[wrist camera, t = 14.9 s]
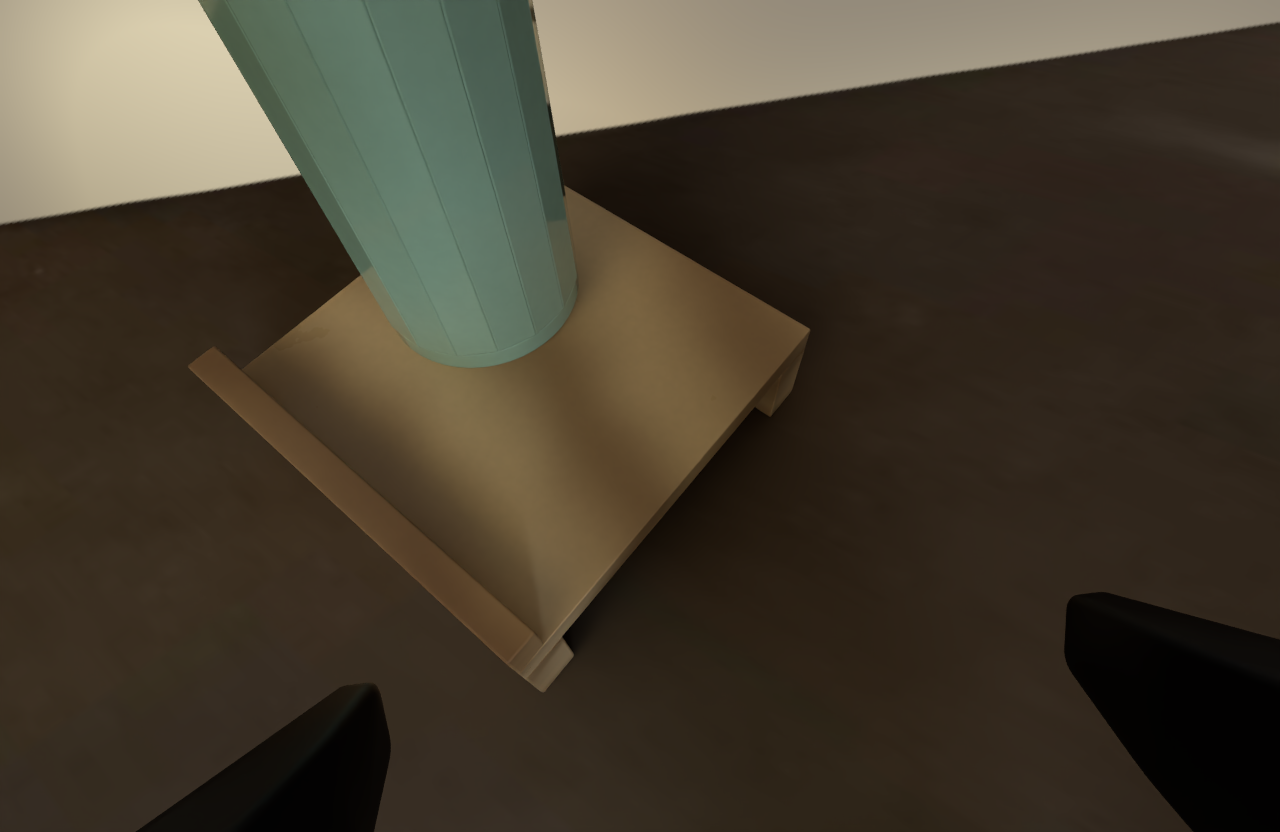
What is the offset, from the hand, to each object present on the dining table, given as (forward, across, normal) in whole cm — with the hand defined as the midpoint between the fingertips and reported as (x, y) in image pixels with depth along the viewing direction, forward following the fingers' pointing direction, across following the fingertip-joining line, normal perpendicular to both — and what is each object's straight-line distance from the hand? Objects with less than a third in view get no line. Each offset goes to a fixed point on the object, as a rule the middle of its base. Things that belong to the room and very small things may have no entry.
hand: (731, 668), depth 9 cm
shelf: (+18, +4, +1) cm, 18 cm away
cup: (+17, +5, -4) cm, 18 cm away
